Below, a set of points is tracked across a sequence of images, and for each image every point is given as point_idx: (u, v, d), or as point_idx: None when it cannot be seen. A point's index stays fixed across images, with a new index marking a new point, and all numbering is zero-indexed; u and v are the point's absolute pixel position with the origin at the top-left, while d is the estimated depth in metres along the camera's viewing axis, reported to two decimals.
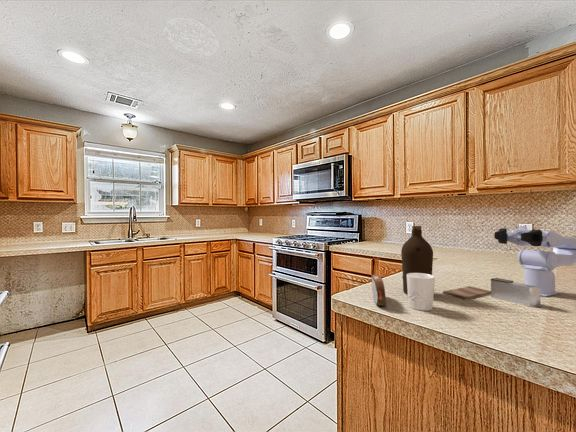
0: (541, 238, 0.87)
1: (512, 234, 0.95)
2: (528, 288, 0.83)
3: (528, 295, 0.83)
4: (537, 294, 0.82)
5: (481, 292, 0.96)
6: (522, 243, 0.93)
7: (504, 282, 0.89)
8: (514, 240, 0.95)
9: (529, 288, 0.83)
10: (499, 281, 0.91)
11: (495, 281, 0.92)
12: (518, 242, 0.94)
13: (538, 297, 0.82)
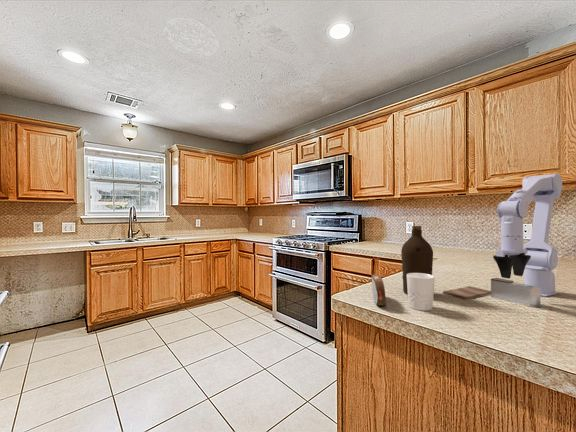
0: None
1: (510, 253, 0.87)
2: (528, 288, 0.83)
3: (528, 295, 0.83)
4: (537, 294, 0.82)
5: (481, 292, 0.96)
6: None
7: (504, 282, 0.89)
8: None
9: (529, 288, 0.83)
10: (499, 281, 0.91)
11: (495, 281, 0.92)
12: None
13: (538, 297, 0.82)
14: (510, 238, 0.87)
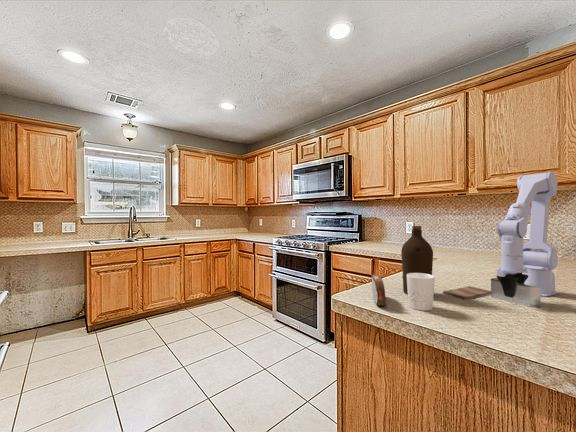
0: None
1: None
2: (528, 288, 0.83)
3: (528, 295, 0.83)
4: (537, 294, 0.82)
5: (481, 292, 0.96)
6: None
7: None
8: None
9: (529, 288, 0.83)
10: (499, 281, 0.91)
11: (495, 281, 0.92)
12: (503, 269, 0.90)
13: (538, 297, 0.82)
14: (510, 258, 0.87)
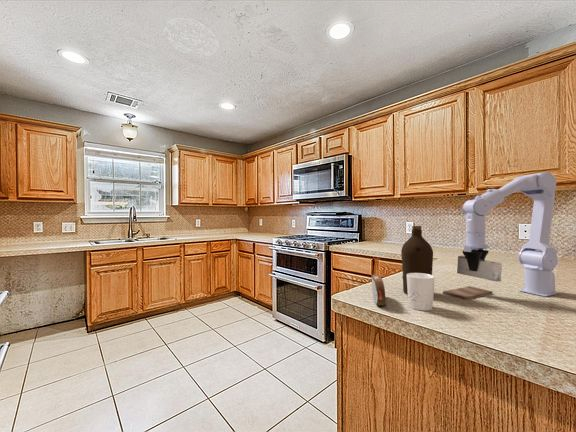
0: None
1: (475, 248, 0.93)
2: (492, 264, 0.90)
3: (492, 270, 0.90)
4: (499, 269, 0.89)
5: (481, 292, 0.96)
6: None
7: None
8: None
9: (493, 264, 0.90)
10: None
11: (462, 258, 0.97)
12: None
13: (500, 272, 0.89)
14: (475, 234, 0.93)
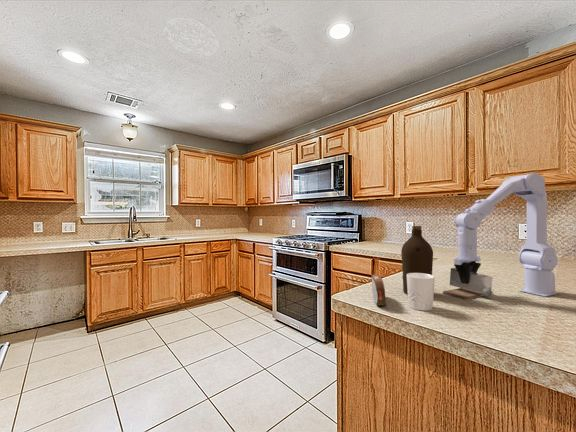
0: None
1: (466, 261, 0.95)
2: (482, 277, 0.91)
3: (482, 283, 0.92)
4: (489, 283, 0.90)
5: None
6: None
7: None
8: None
9: (483, 277, 0.91)
10: None
11: (454, 270, 0.99)
12: None
13: (490, 286, 0.91)
14: (466, 247, 0.95)
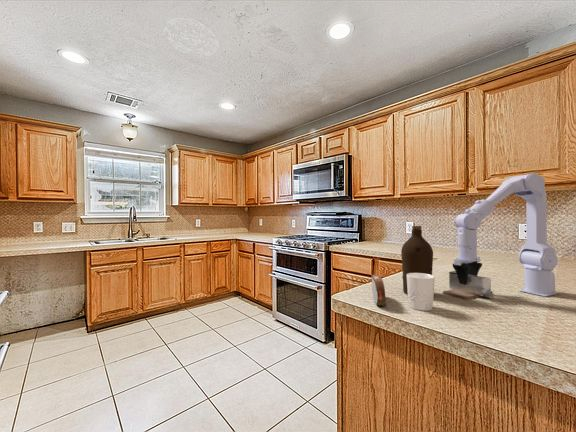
0: None
1: (466, 262, 0.95)
2: (481, 279, 0.92)
3: (481, 285, 0.92)
4: (488, 284, 0.91)
5: None
6: None
7: None
8: None
9: (481, 279, 0.92)
10: (456, 274, 0.99)
11: (453, 274, 1.00)
12: None
13: (489, 287, 0.91)
14: (466, 248, 0.95)
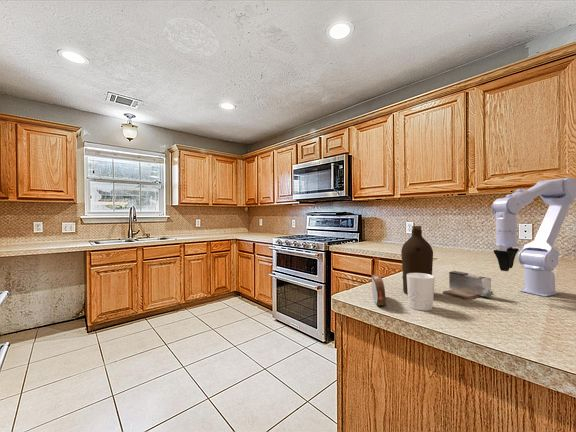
0: None
1: (507, 247, 0.92)
2: (481, 279, 0.92)
3: (481, 285, 0.92)
4: (488, 284, 0.91)
5: None
6: None
7: (460, 274, 0.97)
8: None
9: (481, 279, 0.92)
10: (456, 274, 0.99)
11: (453, 274, 1.00)
12: None
13: (489, 287, 0.91)
14: (507, 233, 0.92)
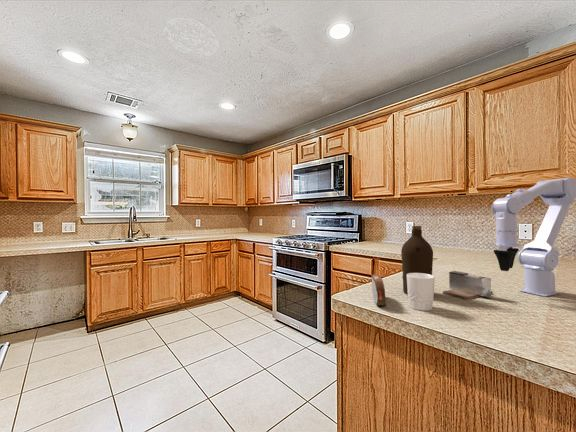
0: None
1: (507, 247, 0.92)
2: (481, 279, 0.92)
3: (481, 285, 0.92)
4: (488, 284, 0.91)
5: None
6: None
7: (460, 274, 0.97)
8: None
9: (481, 279, 0.92)
10: (456, 274, 0.99)
11: (453, 274, 1.00)
12: None
13: (489, 287, 0.91)
14: (508, 233, 0.92)
